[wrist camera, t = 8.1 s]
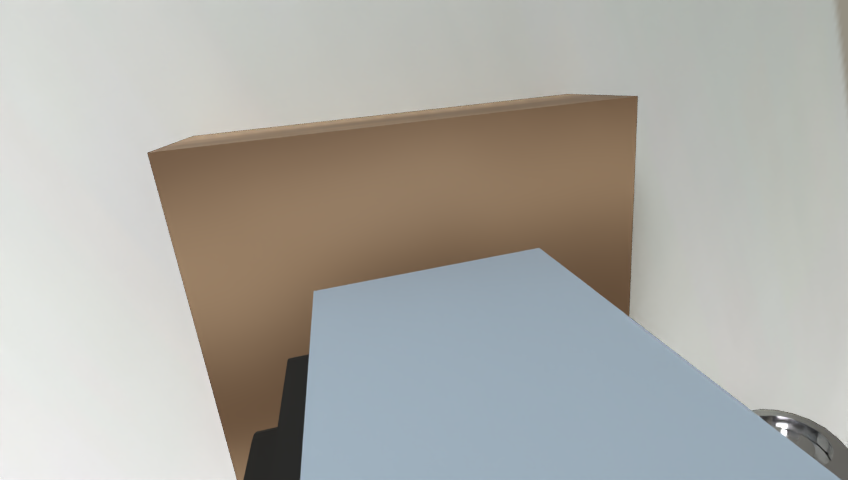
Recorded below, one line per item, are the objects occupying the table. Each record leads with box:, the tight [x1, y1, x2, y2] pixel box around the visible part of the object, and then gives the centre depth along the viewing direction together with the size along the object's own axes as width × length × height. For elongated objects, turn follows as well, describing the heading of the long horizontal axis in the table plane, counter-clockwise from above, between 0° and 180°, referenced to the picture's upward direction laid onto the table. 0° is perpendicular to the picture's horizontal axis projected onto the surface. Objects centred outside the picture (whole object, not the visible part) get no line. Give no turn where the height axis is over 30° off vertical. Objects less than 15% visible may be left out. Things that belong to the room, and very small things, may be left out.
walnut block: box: [148, 94, 638, 480], centre depth 14 cm, size 11×11×4 cm
